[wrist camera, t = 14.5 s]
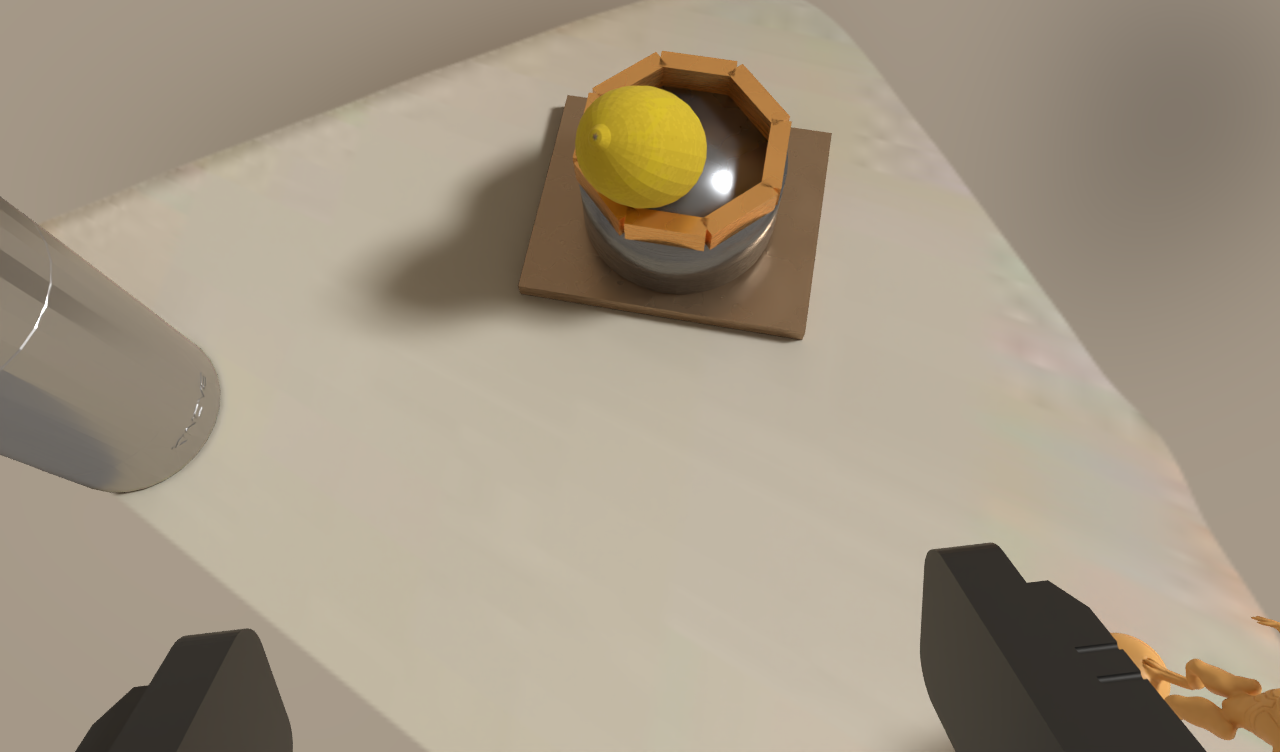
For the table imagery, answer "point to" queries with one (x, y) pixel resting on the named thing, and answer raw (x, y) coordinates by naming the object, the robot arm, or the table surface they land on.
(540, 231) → the pot on wooden stand
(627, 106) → the lemon
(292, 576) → the table surface
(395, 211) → the table surface
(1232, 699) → the figurine
